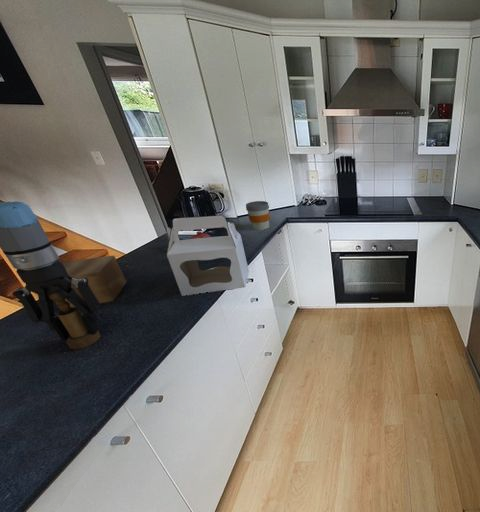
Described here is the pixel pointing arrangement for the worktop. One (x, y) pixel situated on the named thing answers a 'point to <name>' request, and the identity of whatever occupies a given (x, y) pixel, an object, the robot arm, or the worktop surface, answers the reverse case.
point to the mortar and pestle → (74, 324)
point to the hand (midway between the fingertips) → (81, 334)
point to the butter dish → (200, 235)
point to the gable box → (206, 256)
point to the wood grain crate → (98, 277)
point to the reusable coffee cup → (258, 214)
